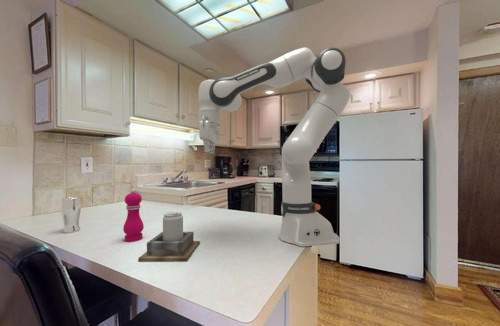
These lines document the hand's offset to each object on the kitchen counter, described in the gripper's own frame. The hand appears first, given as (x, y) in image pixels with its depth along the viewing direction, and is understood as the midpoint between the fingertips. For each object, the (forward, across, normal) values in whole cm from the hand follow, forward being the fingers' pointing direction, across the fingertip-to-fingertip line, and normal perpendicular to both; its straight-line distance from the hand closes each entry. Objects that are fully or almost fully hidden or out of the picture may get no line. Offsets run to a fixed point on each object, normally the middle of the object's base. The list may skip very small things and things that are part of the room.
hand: (209, 153), depth 92 cm
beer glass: (+34, +6, +65) cm, 74 cm away
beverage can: (+33, -19, +9) cm, 39 cm away
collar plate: (+34, -18, +9) cm, 40 cm away
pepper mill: (+34, -5, +30) cm, 46 cm away
